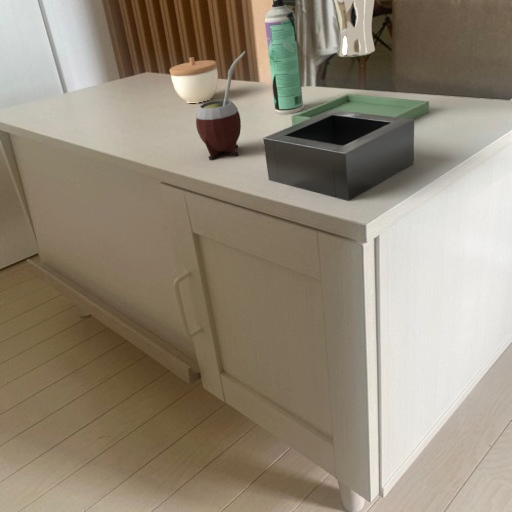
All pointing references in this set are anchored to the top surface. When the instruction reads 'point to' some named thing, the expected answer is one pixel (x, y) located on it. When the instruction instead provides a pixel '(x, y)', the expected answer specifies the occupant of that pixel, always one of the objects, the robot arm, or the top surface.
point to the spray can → (284, 58)
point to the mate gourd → (220, 123)
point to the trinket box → (195, 80)
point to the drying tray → (367, 107)
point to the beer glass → (354, 27)
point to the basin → (340, 152)
